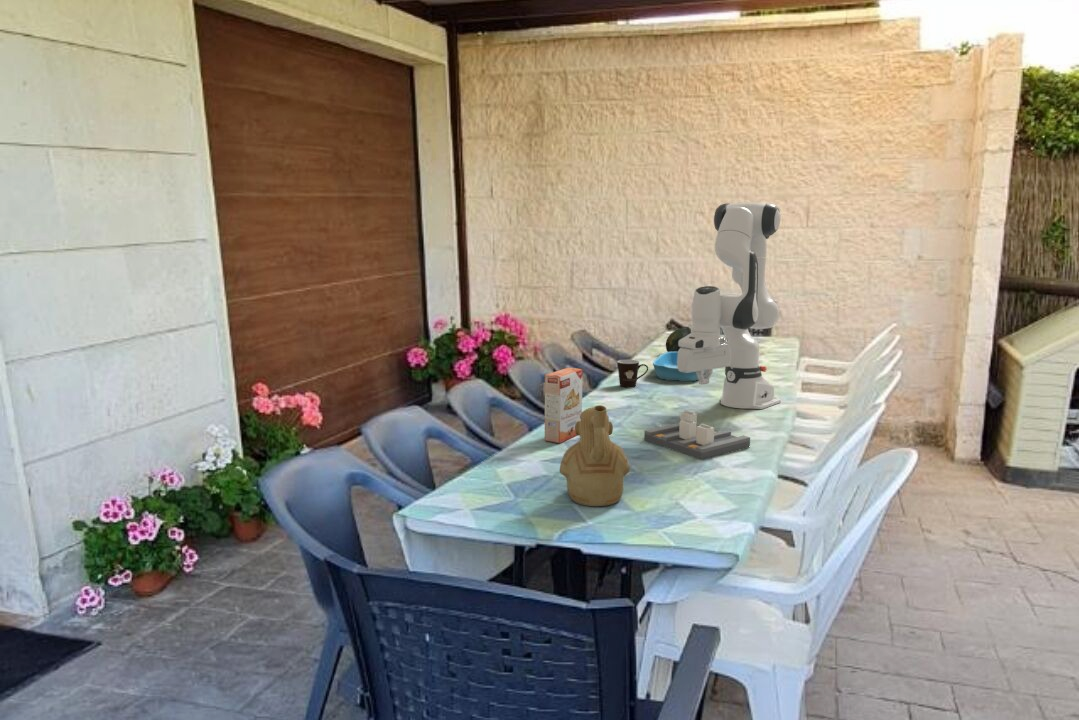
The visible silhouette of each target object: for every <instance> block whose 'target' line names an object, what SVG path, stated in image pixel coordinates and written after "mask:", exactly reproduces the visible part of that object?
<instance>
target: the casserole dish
mask: <svg viewBox="0 0 1079 720" xmlns="http://www.w3.org/2000/svg"><path fill="white" fill-rule="evenodd" d="M677 356H678V352H667V351H666V352H663V353H662V354H660V355H659V356H657V358H655V359H654V360H653V361H652V366H653V369H654V371H655V375H656V376H657V378H658V379H660V380H663V379H666V380H665V381H674V380H679V381H678V382H697V381H699V378H698V376H697V374H696V372H690V373H683V372H679V370H678V368H677ZM705 373H706V372H705V371H704V374H703V376H704V375H705ZM696 380H697V381H696Z"/></svg>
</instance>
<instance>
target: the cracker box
mask: <svg viewBox="0 0 1079 720" xmlns="http://www.w3.org/2000/svg"><path fill="white" fill-rule="evenodd" d="M583 372H584V371H583V369H581V368H575V367H566V368H563V369H560V370H557V371H553V372H550V373H547V374H545V375H544V442H551V443H555V444H562V443H563V442H565V441H567V440H570V439H572V438H574V437H576V436H577V435H576V433H575V424H576V422H578V421H581V419H580V415H581V413H582V412H583V374H584V373H583Z"/></svg>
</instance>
